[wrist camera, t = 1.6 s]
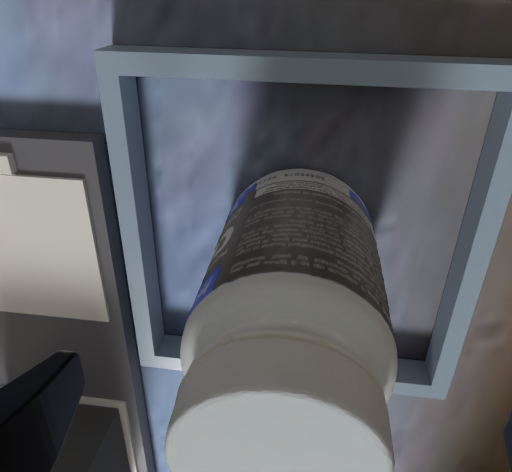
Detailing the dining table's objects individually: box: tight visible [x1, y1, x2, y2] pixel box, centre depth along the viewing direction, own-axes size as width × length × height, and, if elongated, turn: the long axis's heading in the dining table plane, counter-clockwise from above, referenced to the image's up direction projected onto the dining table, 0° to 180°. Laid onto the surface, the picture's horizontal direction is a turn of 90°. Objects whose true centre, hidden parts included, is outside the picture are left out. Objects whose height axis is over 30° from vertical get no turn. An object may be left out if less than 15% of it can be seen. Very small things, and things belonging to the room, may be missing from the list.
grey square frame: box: [93, 45, 512, 400], centre depth 14 cm, size 11×11×1 cm
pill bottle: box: [165, 169, 398, 472], centre depth 11 cm, size 5×5×8 cm
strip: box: [0, 128, 155, 472], centre depth 18 cm, size 6×18×1 cm, turn 179°
